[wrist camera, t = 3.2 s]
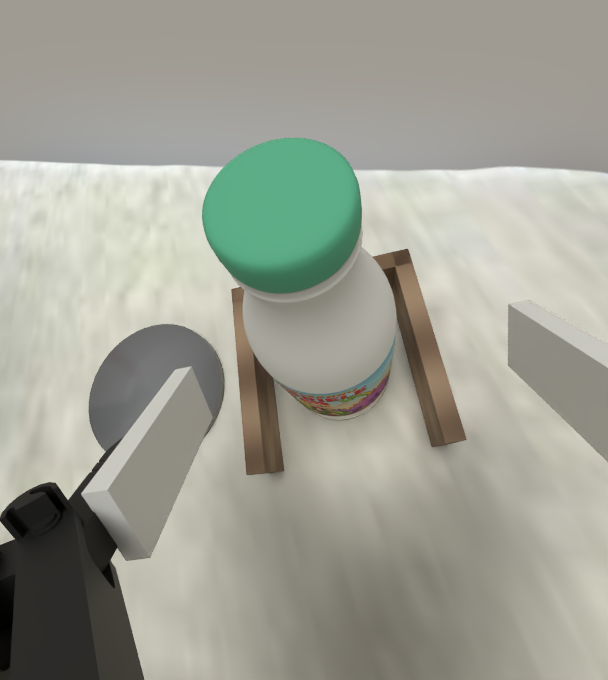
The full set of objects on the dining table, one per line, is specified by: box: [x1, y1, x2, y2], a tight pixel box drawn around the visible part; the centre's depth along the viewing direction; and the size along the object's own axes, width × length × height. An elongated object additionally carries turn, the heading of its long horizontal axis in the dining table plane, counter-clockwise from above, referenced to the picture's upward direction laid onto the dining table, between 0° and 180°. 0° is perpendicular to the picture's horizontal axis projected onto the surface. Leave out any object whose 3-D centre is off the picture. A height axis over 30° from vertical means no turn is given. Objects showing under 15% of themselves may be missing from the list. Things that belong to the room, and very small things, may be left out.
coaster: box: [89, 324, 224, 451], centre depth 30 cm, size 12×12×1 cm
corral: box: [232, 249, 466, 475], centre depth 26 cm, size 13×13×5 cm
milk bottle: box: [202, 138, 397, 420], centre depth 19 cm, size 8×8×20 cm
